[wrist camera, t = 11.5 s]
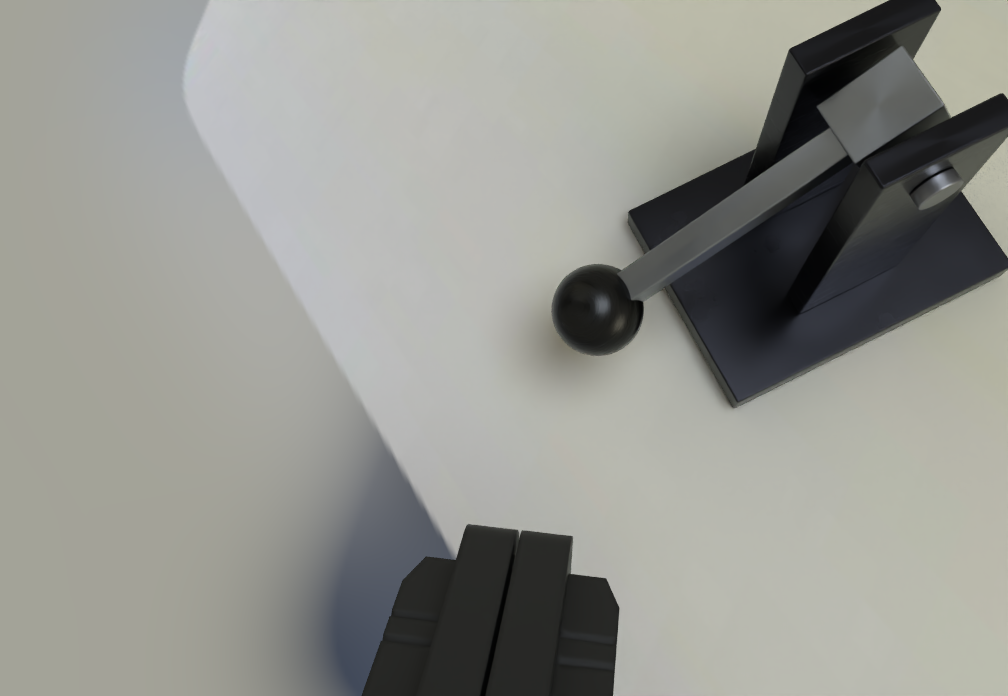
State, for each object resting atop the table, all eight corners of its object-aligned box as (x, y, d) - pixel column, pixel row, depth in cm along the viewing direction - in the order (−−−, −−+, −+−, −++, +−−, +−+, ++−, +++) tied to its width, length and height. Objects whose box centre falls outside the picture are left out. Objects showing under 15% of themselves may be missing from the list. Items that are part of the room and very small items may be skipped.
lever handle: (602, 372, 35) (561, 372, 32) (562, 299, 36) (520, 292, 33) (965, 140, 29) (954, 115, 26) (907, 58, 30) (890, 26, 27)
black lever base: (733, 409, 38) (797, 312, 25) (626, 222, 40) (637, 52, 28) (1001, 275, 38) (1192, 116, 26) (879, 98, 40) (999, -124, 28)
